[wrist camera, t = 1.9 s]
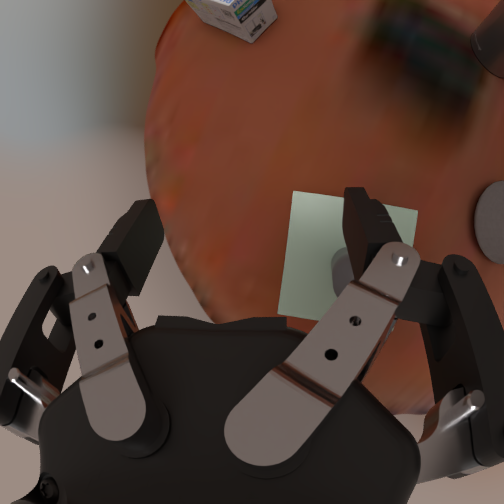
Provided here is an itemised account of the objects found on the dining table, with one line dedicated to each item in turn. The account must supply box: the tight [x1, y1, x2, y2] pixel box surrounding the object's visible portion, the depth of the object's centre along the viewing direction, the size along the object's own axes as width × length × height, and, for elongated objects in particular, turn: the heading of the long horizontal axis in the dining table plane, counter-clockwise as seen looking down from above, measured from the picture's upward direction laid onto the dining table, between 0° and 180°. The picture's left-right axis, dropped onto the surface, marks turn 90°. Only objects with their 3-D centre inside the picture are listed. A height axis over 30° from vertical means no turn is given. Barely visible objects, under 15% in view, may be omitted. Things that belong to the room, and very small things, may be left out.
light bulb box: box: [185, 0, 277, 43], centre depth 29 cm, size 11×7×11 cm, turn 51°
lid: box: [277, 191, 418, 331], centre depth 26 cm, size 13×13×9 cm
